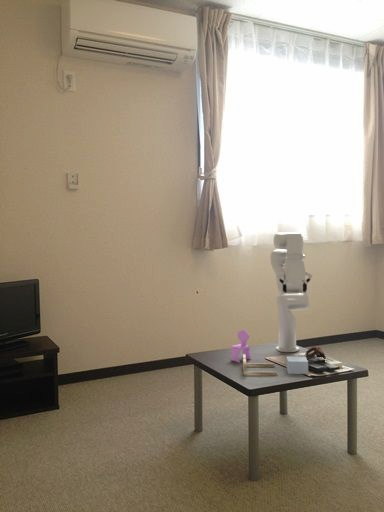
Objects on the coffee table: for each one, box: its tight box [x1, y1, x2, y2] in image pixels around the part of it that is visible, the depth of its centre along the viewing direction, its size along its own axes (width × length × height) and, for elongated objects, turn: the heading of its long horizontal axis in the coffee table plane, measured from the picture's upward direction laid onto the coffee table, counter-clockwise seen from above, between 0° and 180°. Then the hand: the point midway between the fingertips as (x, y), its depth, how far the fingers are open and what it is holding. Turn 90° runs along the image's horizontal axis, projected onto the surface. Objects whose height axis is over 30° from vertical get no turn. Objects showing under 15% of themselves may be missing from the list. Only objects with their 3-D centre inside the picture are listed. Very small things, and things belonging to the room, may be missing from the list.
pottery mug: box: [304, 346, 327, 360], centre depth 241 cm, size 12×10×8 cm
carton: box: [285, 355, 309, 375], centre depth 224 cm, size 9×9×6 cm
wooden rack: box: [242, 353, 278, 377], centre depth 225 cm, size 16×15×6 cm
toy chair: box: [230, 329, 252, 363], centre depth 245 cm, size 8×9×15 cm
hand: (294, 292), depth 236 cm, fingers open, 9 cm apart
